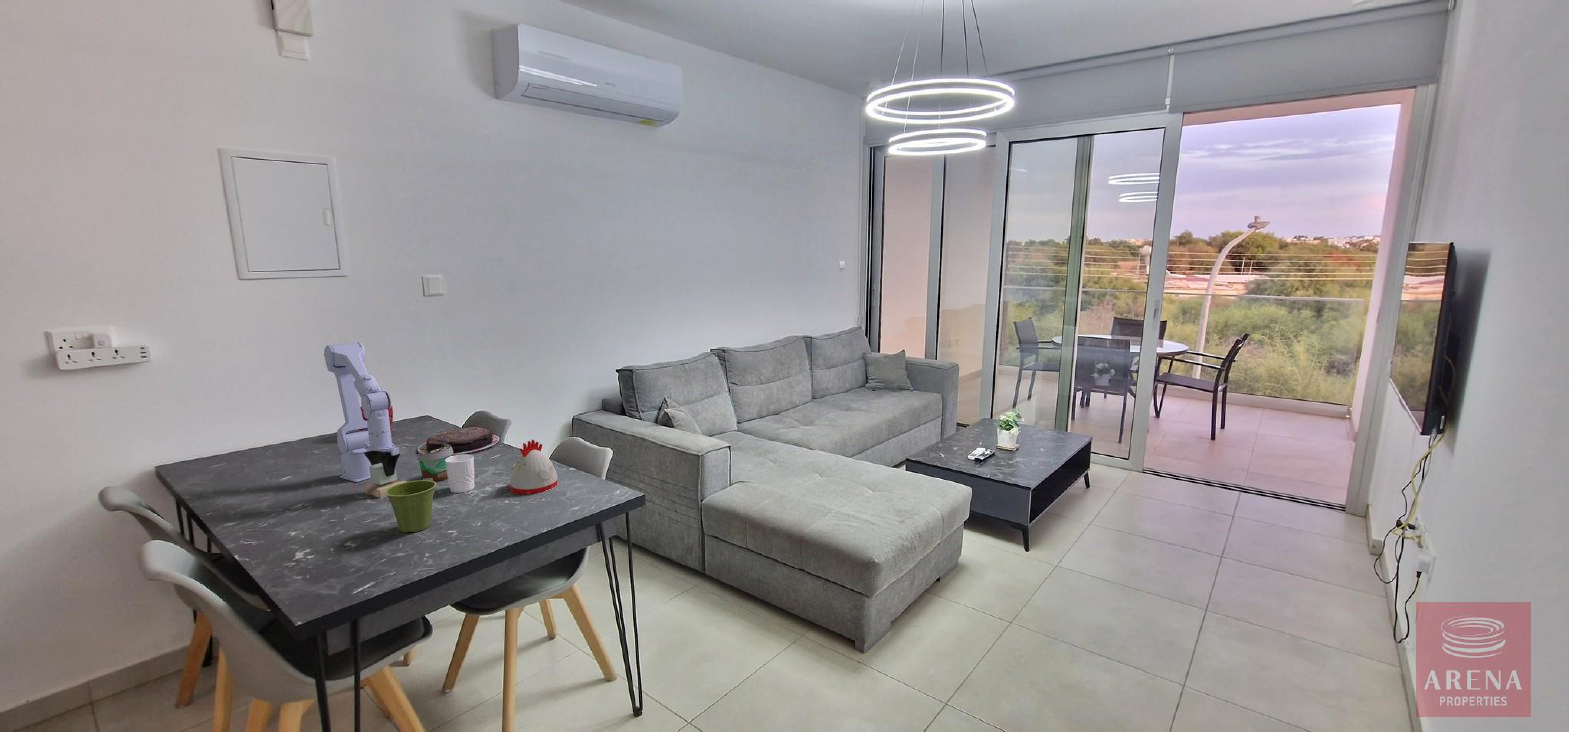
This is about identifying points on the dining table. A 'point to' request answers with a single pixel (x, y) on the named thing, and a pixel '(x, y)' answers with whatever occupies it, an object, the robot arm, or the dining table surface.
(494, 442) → the chocolate cake
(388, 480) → the sage cube
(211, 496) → the dining table surface
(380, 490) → the oak block
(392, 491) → the plant pot
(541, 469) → the kitchen timer
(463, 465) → the white cup
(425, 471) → the food container
